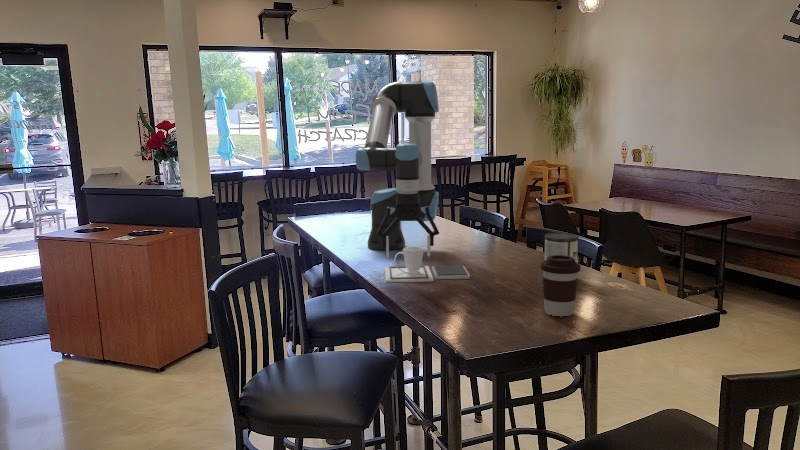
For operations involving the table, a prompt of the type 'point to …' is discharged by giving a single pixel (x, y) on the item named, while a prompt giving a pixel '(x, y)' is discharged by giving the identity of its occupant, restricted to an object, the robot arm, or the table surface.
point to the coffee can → (561, 244)
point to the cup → (412, 259)
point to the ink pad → (450, 272)
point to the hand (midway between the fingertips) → (408, 256)
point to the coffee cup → (559, 284)
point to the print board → (407, 274)
